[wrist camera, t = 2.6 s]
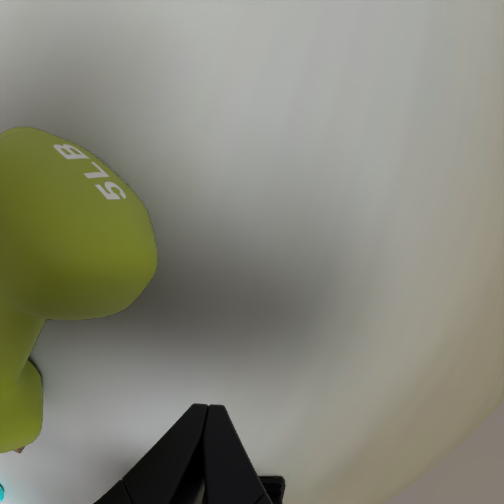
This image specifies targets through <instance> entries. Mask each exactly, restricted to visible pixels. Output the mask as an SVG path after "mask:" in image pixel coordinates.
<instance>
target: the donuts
mask: <svg viewBox="0 0 504 504" xmlns="http://www.w3.org/2000/svg"><path fill="white" fill-rule="evenodd" d="M3 498H4V493H3V490H2V488H1V486H0V502H1V501H2V500H3Z"/></svg>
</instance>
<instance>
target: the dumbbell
mask: <svg viewBox="0 0 504 504" xmlns="http://www.w3.org/2000/svg"><path fill="white" fill-rule="evenodd" d="M157 261H158V257H157V247H156V241H155V237H154V233H153V228H152V224H151V220H150V217H149V214H148V212H147V210H146V208H145V206H144V205H143V203H142V202H141V200H140V199H139V198H138V197H137V195H136V194H135V193H134V192H133V191H132V190H131V189H130V188H129V186H128V185H126V184H125V183H124V182H123V181H122V180H121V179H120V178H119V177H118V176H117V175H116V174H115V173H114V172H113V171H112V170H111V169H109V168H108V167H107V166H106V165H105V164H104V163H103V162H101V161H100V160H99V159H98V158H96V157H95V156H94V155H93V154H91V153H90V152H88V151H87V150H85V149H84V148H82V147H80V146H78V145H76V144H74V143H72V142H69V141H67V140H64V139H62V138H59V137H57V136H55V135H53V134H50V133H48V132H45V131H42V130H39V129H35V128H29V127H15V128H12V129H9V130H7V131H4V132H3V133H1V134H0V453H5V452H8V451H12V450H15V449H18V448H21V447H24V446H26V445H28V444H30V443H32V442H33V441H35V440H36V438H37V437H38V436H39V434H40V431H41V428H42V421H43V391H42V381H41V377H40V374H39V372H38V371H37V369H36V368H35V367H34V366H33V364H32V363H31V362H30V361H29V360H28V357H29V356H30V354H31V352H32V350H33V348H34V345H35V343H36V341H37V339H38V336H39V334H40V332H41V330H42V327H43V325H44V323H45V320H46V319H49V320H86V319H95V318H101V317H106V316H110V315H113V314H116V313H118V312H120V311H123V310H124V309H125V308H127V307H128V306H129V305H130V304H132V303H133V302H134V301H135V300H136V299H137V297H138V296H139V295H140V294H141V293H142V291H143V290H144V289H145V288H146V286H147V285H148V284H149V282H150V281H151V279H152V277H153V276H154V274H155V271H156V268H157Z"/></svg>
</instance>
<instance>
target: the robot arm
mask: <svg viewBox="0 0 504 504" xmlns="http://www.w3.org/2000/svg"><path fill="white" fill-rule="evenodd" d="M122 480H123V481H122ZM122 480H119V481H118V482H117V483H116V484H115V485H114V486H113V487H112V488H111V489H110V490H109V491H108V492H107V493H106V494H104V495H103V496H102V497H101V498H100V499H99V500H97V501H96V502H95V503H94V504H283V503H282V499H283V495H284V490H285V480H284V479H282V478H259V477H258V475H257V473H256V471H255V469H254V467H253V465H252V463H251V461H250V459H249V457H248V455H247V453H246V451H245V449H244V447H243V445H242V443H241V441H240V439H239V436H238V434H237V432H236V430H235V428H234V426H233V424H232V421H231V419H230V417H229V415H228V412H227V410H226V408H225V406H224V405H213V404H211V405H209V406H208V405H207V404H196V403H195V404H192V405H191V407H190V408H189V409H188V410H187V411H186V412H185V413H184V414H183V415H182V416H181V417H180V419H179V420H178V421H177V422H176V423H175V424H174V425H173V426H172V427H171V428H170V429H169V430H168V431H167V432H166V433H165V435H164V436H163V437H162V438H161V439H160V440H159V441H158V442H157V443H156V444H155V445H154V446H153V447H152V448H151V449H150V450H149V451H148V452H147V453H146V454H145V455H144V456H143V457H142V458H141V459H140V460H139V461H138V462H137V464H136V465H135V466H134V467H133V468H132V469H131V470H130V471H129V472H128V473H127V474H126V475H125V476H124V477H123V478H122Z"/></svg>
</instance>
